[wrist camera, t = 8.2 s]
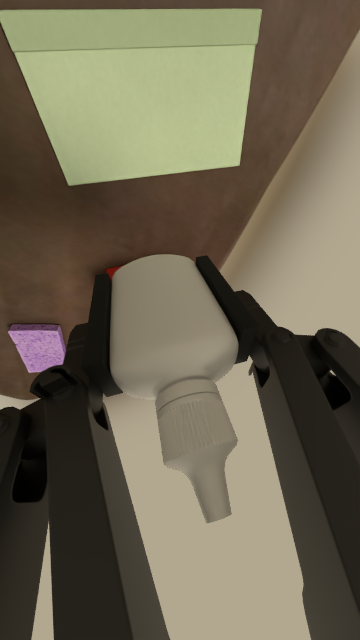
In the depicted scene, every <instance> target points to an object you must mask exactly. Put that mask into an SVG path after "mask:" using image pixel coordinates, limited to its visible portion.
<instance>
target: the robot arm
mask: <svg viewBox="0 0 360 640" xmlns="http://www.w3.org/2000/svg"><path fill="white" fill-rule="evenodd" d="M196 267H197V269H198V270H199V272H200V273H201V275H202V277H203V278H204V280H205V282H206V283H207V285H208V287H209V288H210V290H211V292H212V293H213V295H214V297H215V299H216V300H217V302H218V304H219V305H220V307H221V309H222V310H223V312H224V314H225V315H226V317H227V319H228V321H229V323H230V324H231V326H232V328H233V330H234V332H235V334H236V337H237V340H238V344H239V345H238V353H237V358H236V361H235V363H234V364H237V363H241V362H245V361H247V359H248V356H249V355H250V357H251V358H252V360H253V362H252V365H251V367H250V370H249V375H251V374H252V372H253V375H254V379H255V383H256V387H257V391H258V395H259V399H260V403H261V408H262V412H263V416H264V420H265V423H266V428H267V432H268V436H269V440H270V444H271V448H272V453H273V456H274V460H275V465H276V468H277V473H278V477H279V481H280V485H281V489H282V493H283V497H284V502H285V505H286V510H287V514H288V518H289V522H290V526H291V530H292V534H293V538H294V542H295V546H296V550H297V555H298V558H299V563H300V567H301V571H302V576H303V583H304V587H303V592H302V595H303V604H304V609H305V615H306V619H307V623H308V627H309V632H310V636H311V640H360V348H359V347H358V346H357V345H356V344H355V343H354V342H353V341H352V340H351V339H350V338H349V337H348V336H346V335H345V334H343V333H342V332H339V331H337V330H334V329H330V328H325V329H320V330H318V331H317V333H316V334H315V336H309V335H308V336H307V335H294V334H293V333H292V332H291V331H289V330H288V329H285V328H283V327H278V326H277V325H276V324H275V323H274V322H273V321H272V320H271V318H270V317H269V316H268V315H267V314H266V312H265V311H264V310H263V309H262V308H261V307H260V305H259V304H258V303H257V302H256V301H255V299H254V298H253V297H252V296H251V295H250V294H249V293H247V292H245V291H244V290H241V291H236V292H234V291H233V290H232V288H231V287H230V286H229V284H228V283H227V281H226V280H225V279H224V278H223V276H222V275H221V273H220V272H219V271H218V269H217V268H216V267H215V265H214V264H213V263H212V261H211V260H210V259H209V257H208V256H207V255H206V256H201V257H196ZM111 293H112V281H111V279H110V276H109V274H108V273H105V274H99V275H96V276H95V283H94V289H93V295H92V302H91V308H90V314H89V321H88V323H84V324H80V325H76V326H75V327H74V329H73V330H72V331H71V333H70V336H69V340H68V344H67V348H66V350H67V351H66V352H65V356H64V360H63V364H62V365H55V366H52V367H49V368H47V369H46V370H44V371H42V372H41V373H40V374H39V375H38V376H37V377H36V378H35V380H34V381H33V383H32V384H31V388H30V392H31V393H33V394H34V395H36V396H37V397H39V398H41V399H39V400H38V401H36V402H34V403H32V404H30V405H28V406H26V407H24V408H23V409H21V410H19V409H17V408H15V407H6V408H3V409H1V410H0V640H31V637H32V631H33V623H34V617H35V610H36V603H37V596H38V590H39V583H40V576H41V569H42V562H43V555H44V549H45V542H46V535H47V529H48V522H49V527H50V528H49V529H50V553H51V576H52V602H53V626H54V627H53V628H54V640H170V638H169V635H168V632H167V629H166V625H165V621H164V618H163V614H162V610H161V606H160V603H159V599H158V596H157V592H156V588H155V585H154V581H153V577H152V574H151V570H150V566H149V563H148V559H147V556H146V552H145V548H144V544H143V541H142V537H141V534H140V530H139V526H138V522H137V519H136V515H135V511H134V508H133V504H132V500H131V497H130V493H129V490H128V486H127V482H126V479H125V475H124V471H123V468H122V464H121V460H120V457H119V453H118V449H117V446H116V442H115V438H114V435H113V431H112V427H111V424H110V420H109V416H108V413H107V409H106V406H105V404H104V403H103V402H102V399H103V393H104V394H105V395H106V396H107V397H109V396H113V395H116V394H120V393H123V391H122V390H121V389H120V388H119V387H118V385H117V384H116V383H115V381H114V379H113V377H112V375H111V371H110V321H111ZM330 370H332V371H333V372H334V374H335V375H336V376H335V375H333V374H332V373H331V372H330Z"/></svg>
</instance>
